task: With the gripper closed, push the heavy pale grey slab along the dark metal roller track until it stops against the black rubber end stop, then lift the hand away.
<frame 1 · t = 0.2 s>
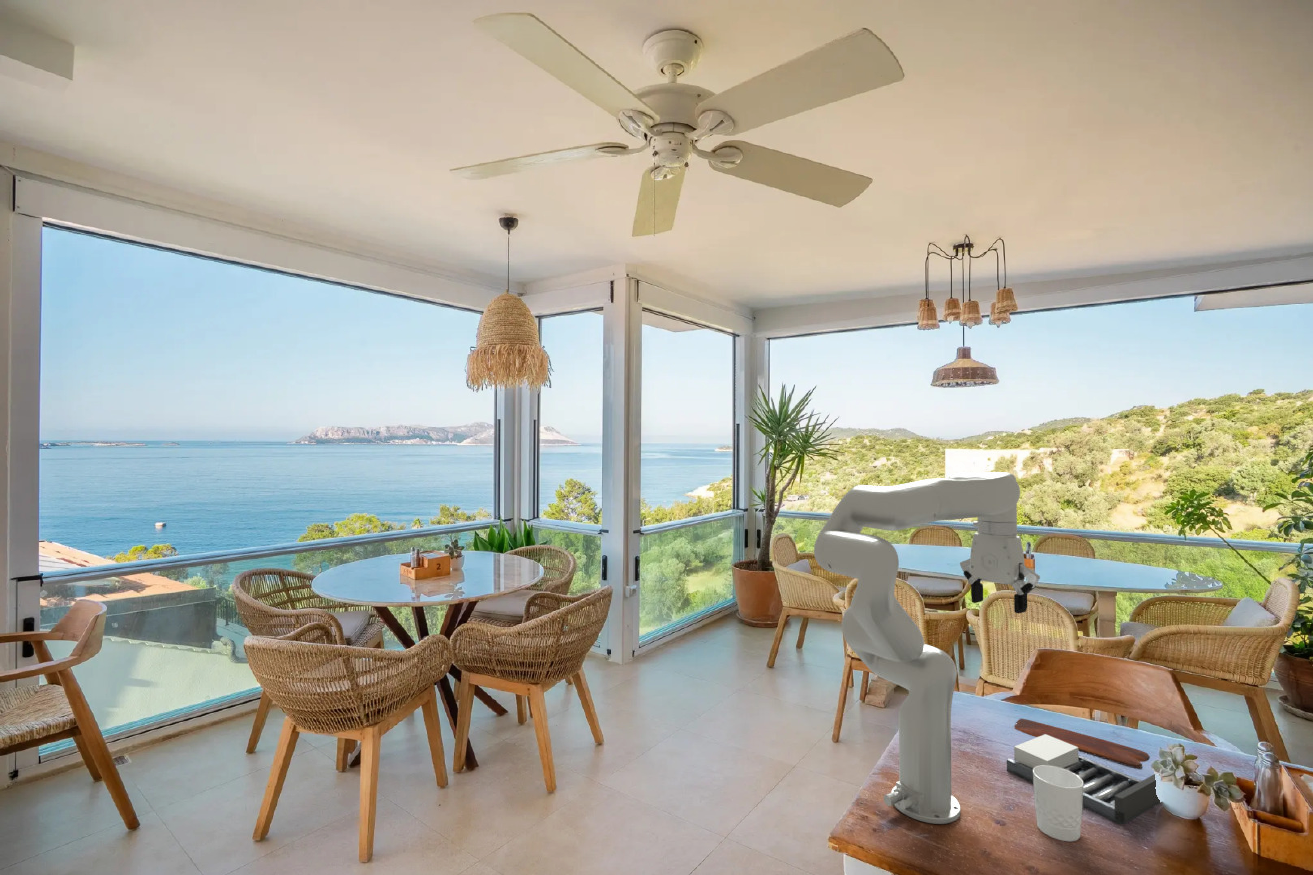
hand: (998, 606, 133), 36 cm above the table, tool pointing down, fingers open, 9 cm apart
white cup: (1058, 831, 113), on the table
roller track: (1081, 785, 128), on the table
wooden tablet: (1076, 744, 147), on the table
slab: (1046, 753, 134), point 3 cm above the table, slide at 0.0 cm
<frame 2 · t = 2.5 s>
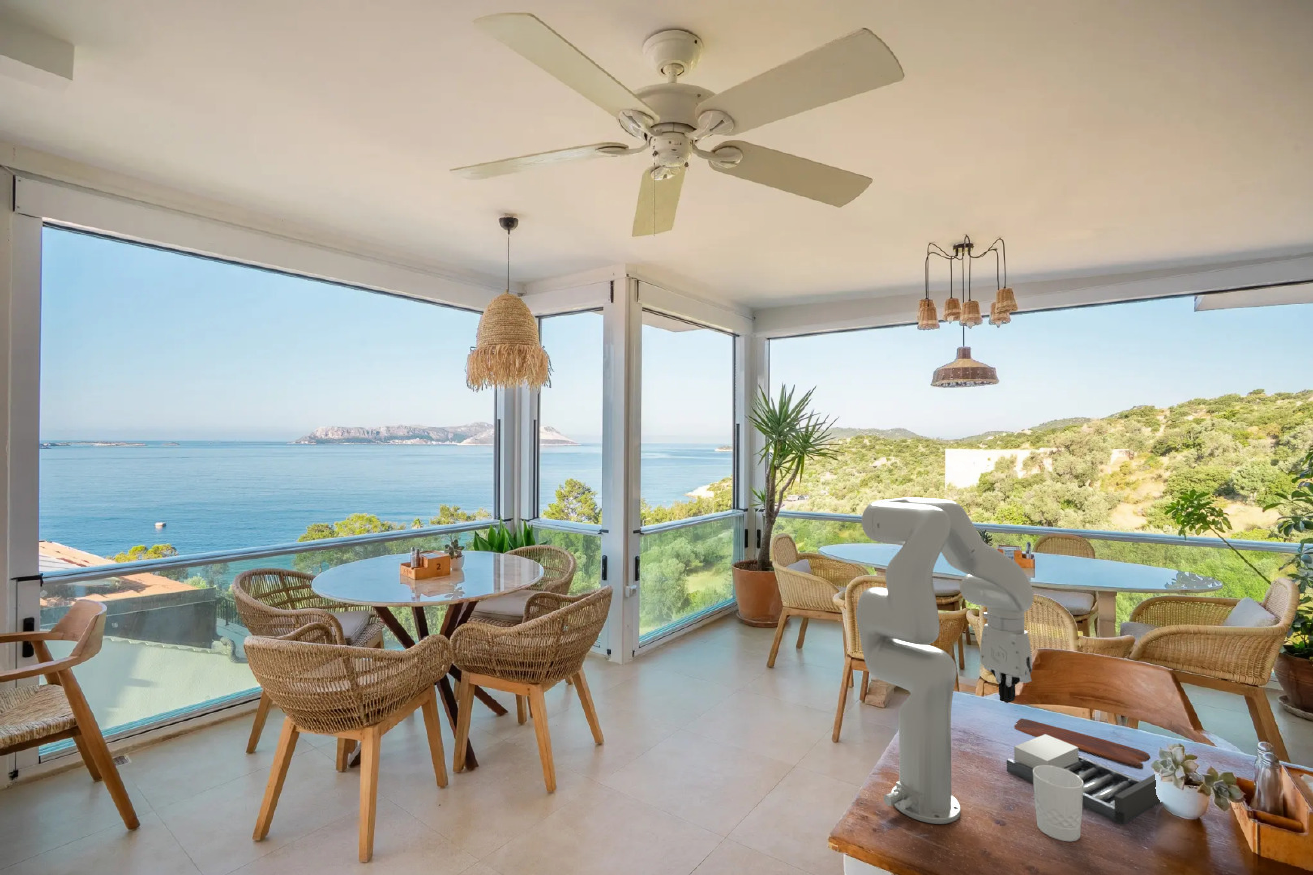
hand: (1007, 700, 142), 12 cm above the table, tool pointing down, fingers closed
nothing on the table moved.
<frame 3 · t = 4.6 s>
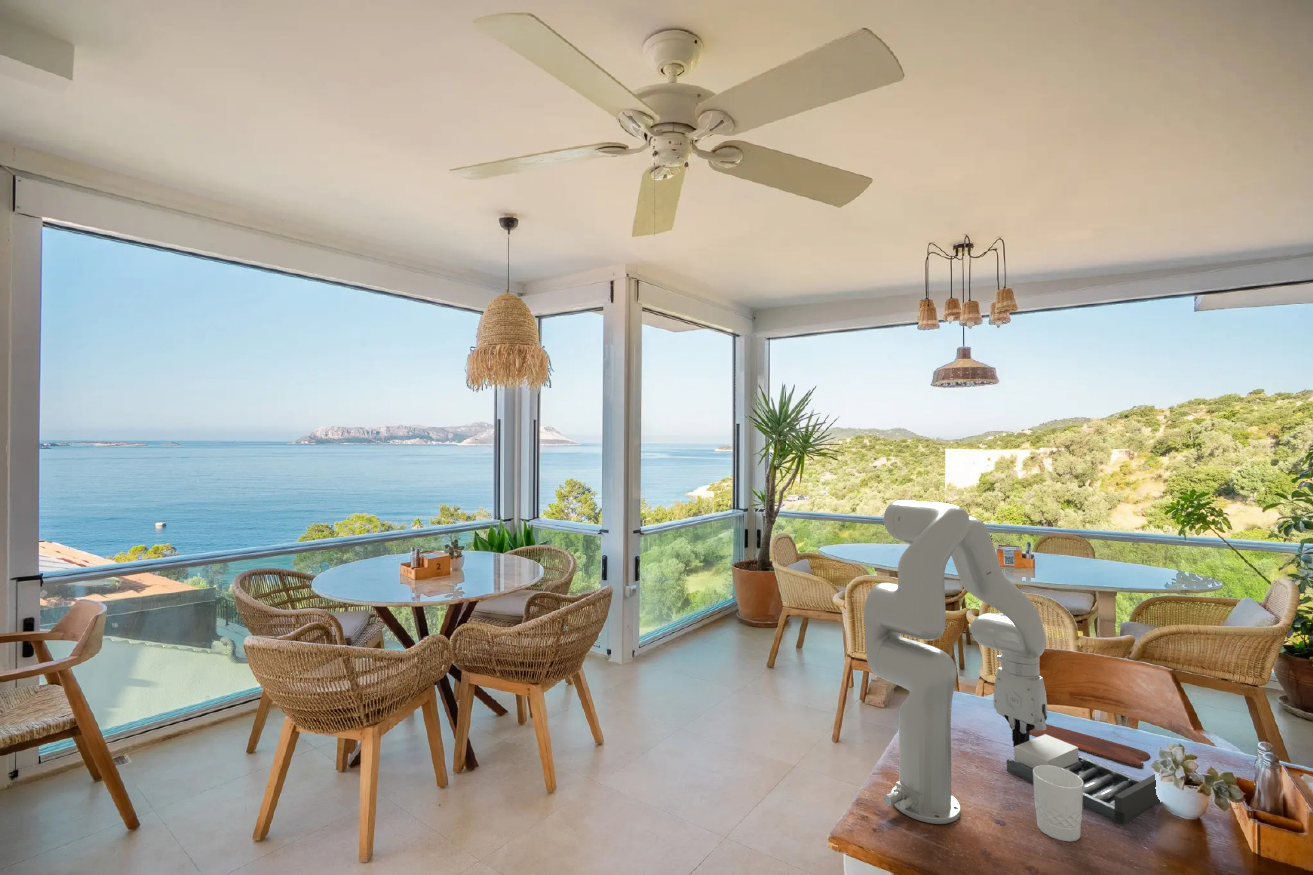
hand: (1020, 747, 139), 2 cm above the table, tool pointing down, fingers closed
slab: (1046, 753, 134), point 3 cm above the table, slide at 0.0 cm, touching gripper
everything else where it was.
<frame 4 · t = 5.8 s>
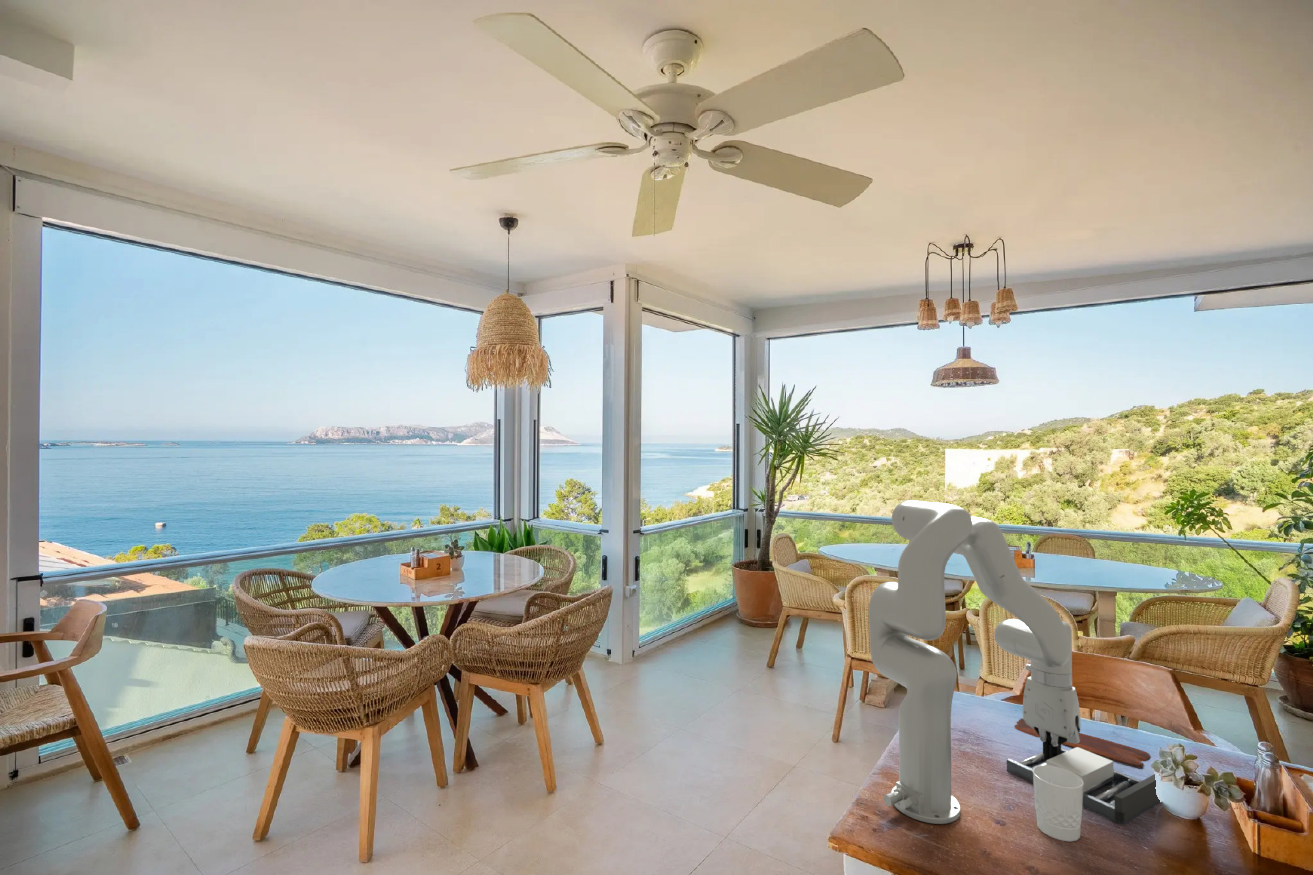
hand: (1052, 760, 133), 2 cm above the table, tool pointing down, fingers closed
slab: (1079, 767, 128), point 3 cm above the table, slide at 6.8 cm, touching gripper
everything else where it was.
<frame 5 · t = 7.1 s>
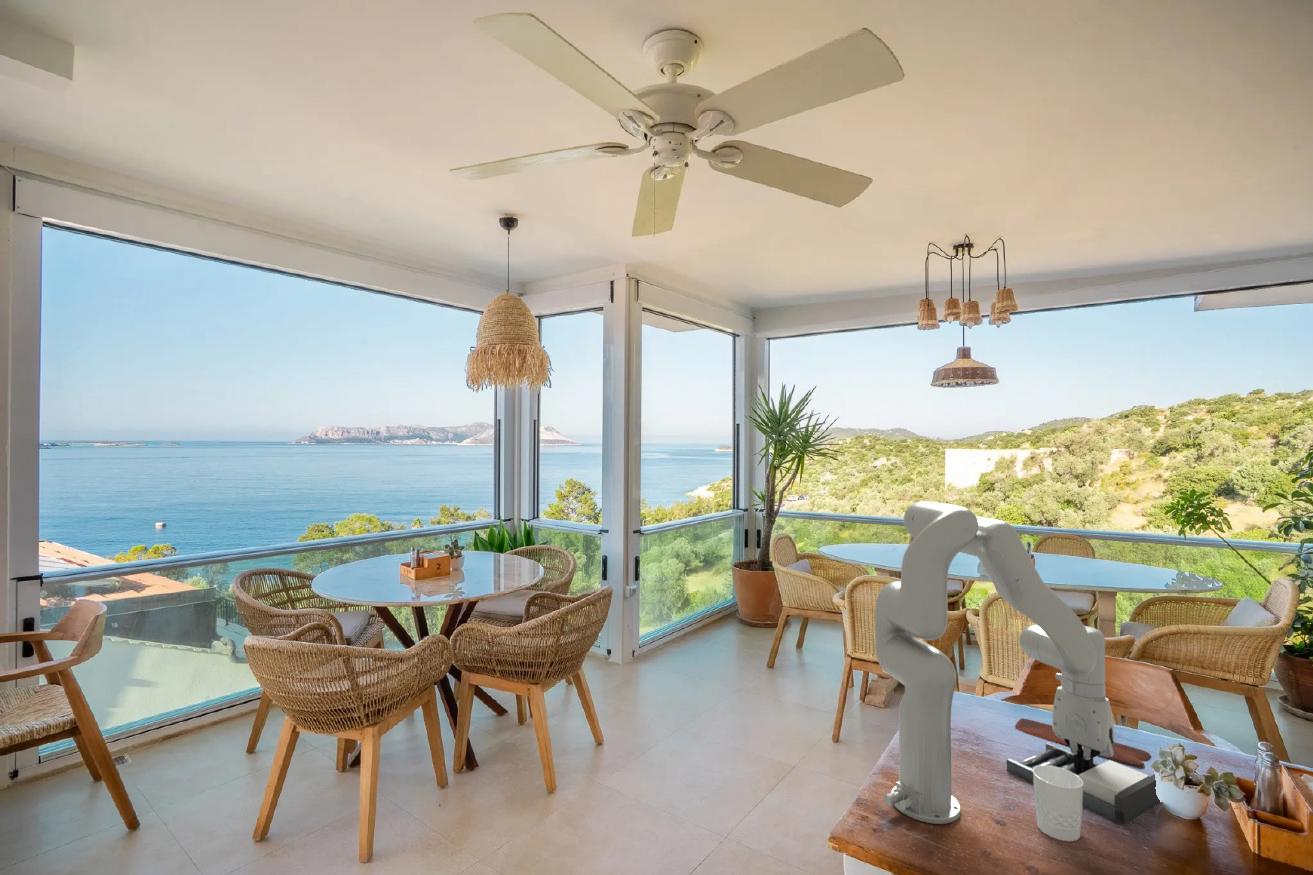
hand: (1083, 774, 127), 2 cm above the table, tool pointing down, fingers closed
slab: (1113, 782, 122), point 4 cm above the table, slide at 13.1 cm, touching gripper
everything else where it was.
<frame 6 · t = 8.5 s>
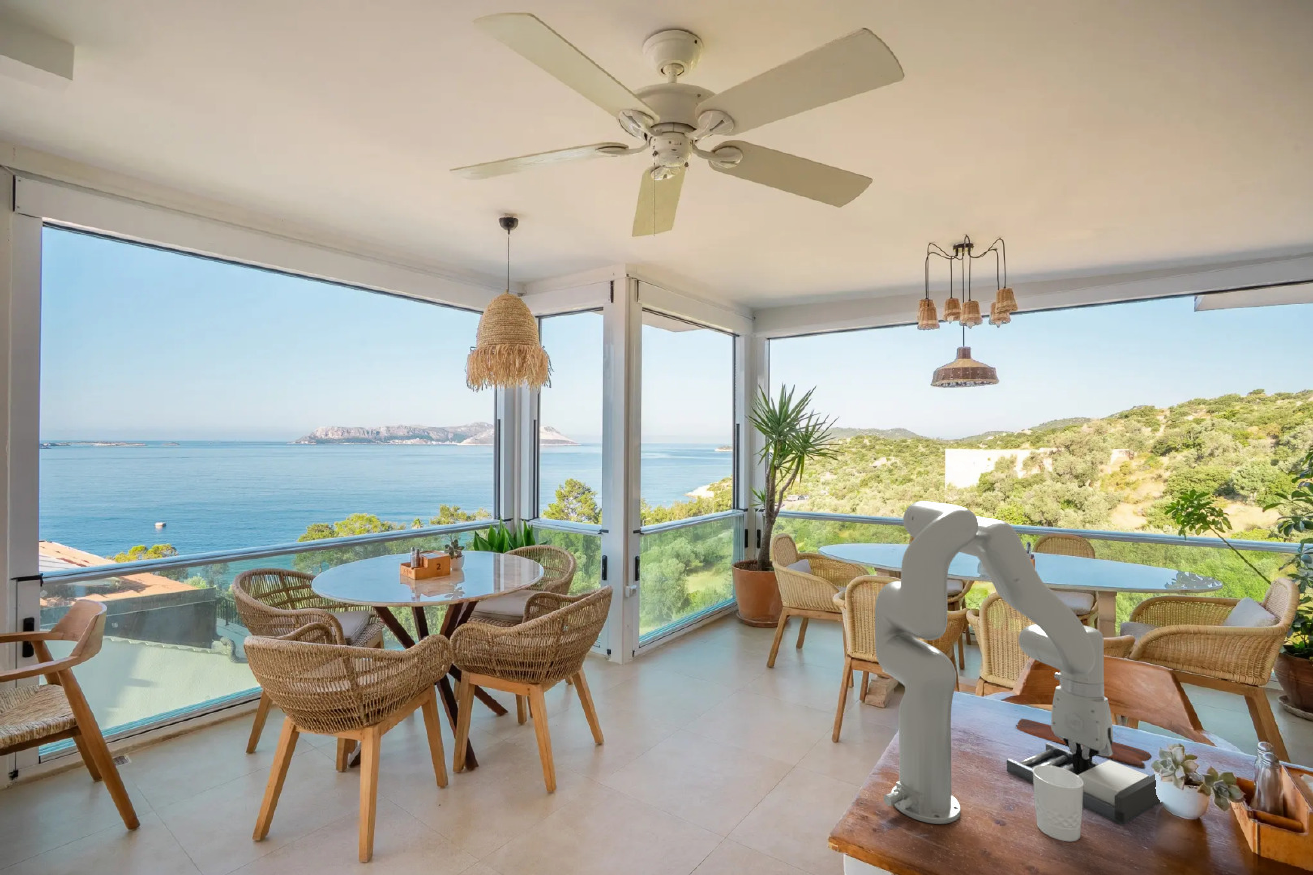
hand: (1082, 773, 128), 2 cm above the table, tool pointing down, fingers closed
slab: (1113, 782, 123), point 4 cm above the table, slide at 13.0 cm
everything else where it was.
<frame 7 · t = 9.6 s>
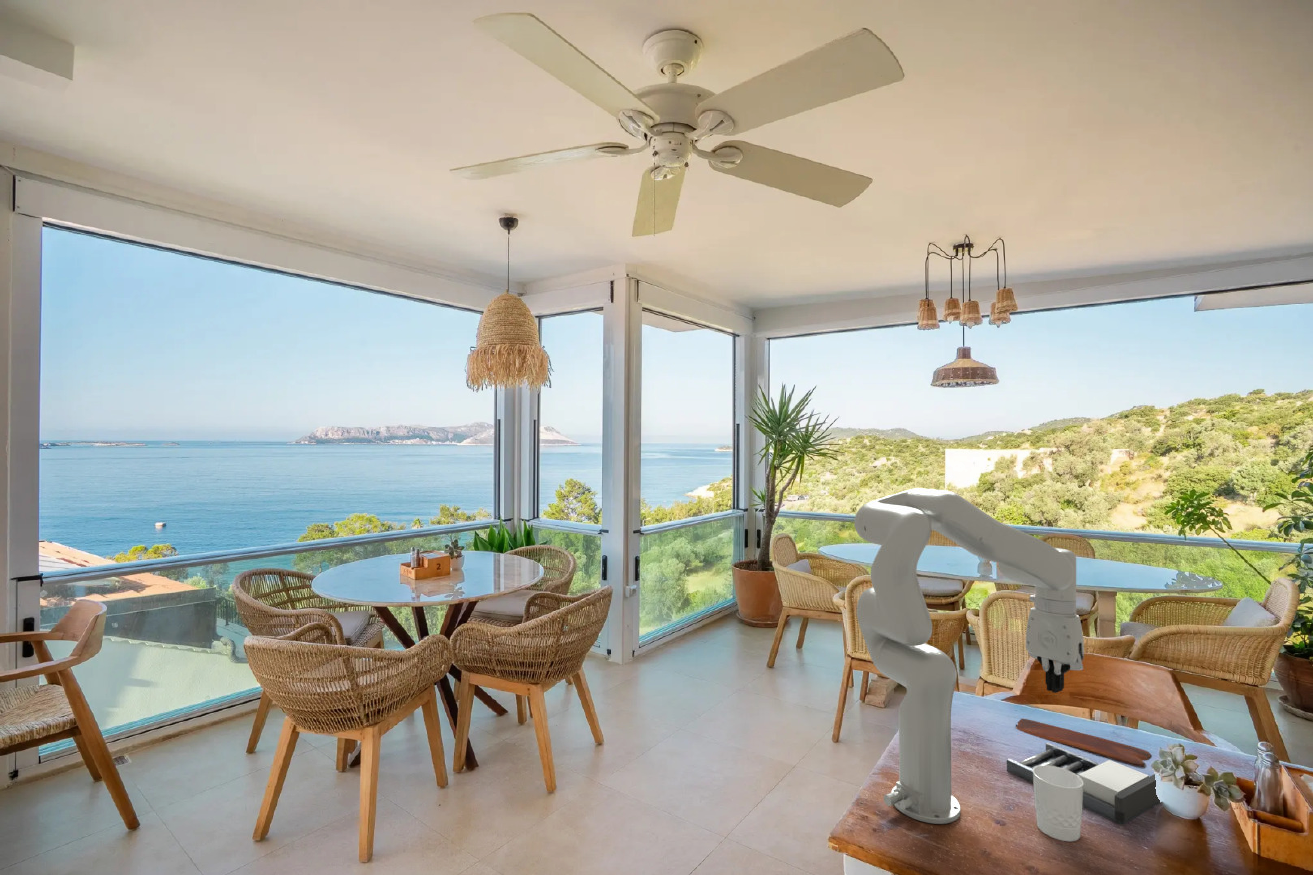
hand: (1054, 690, 132), 18 cm above the table, tool pointing down, fingers closed
nothing on the table moved.
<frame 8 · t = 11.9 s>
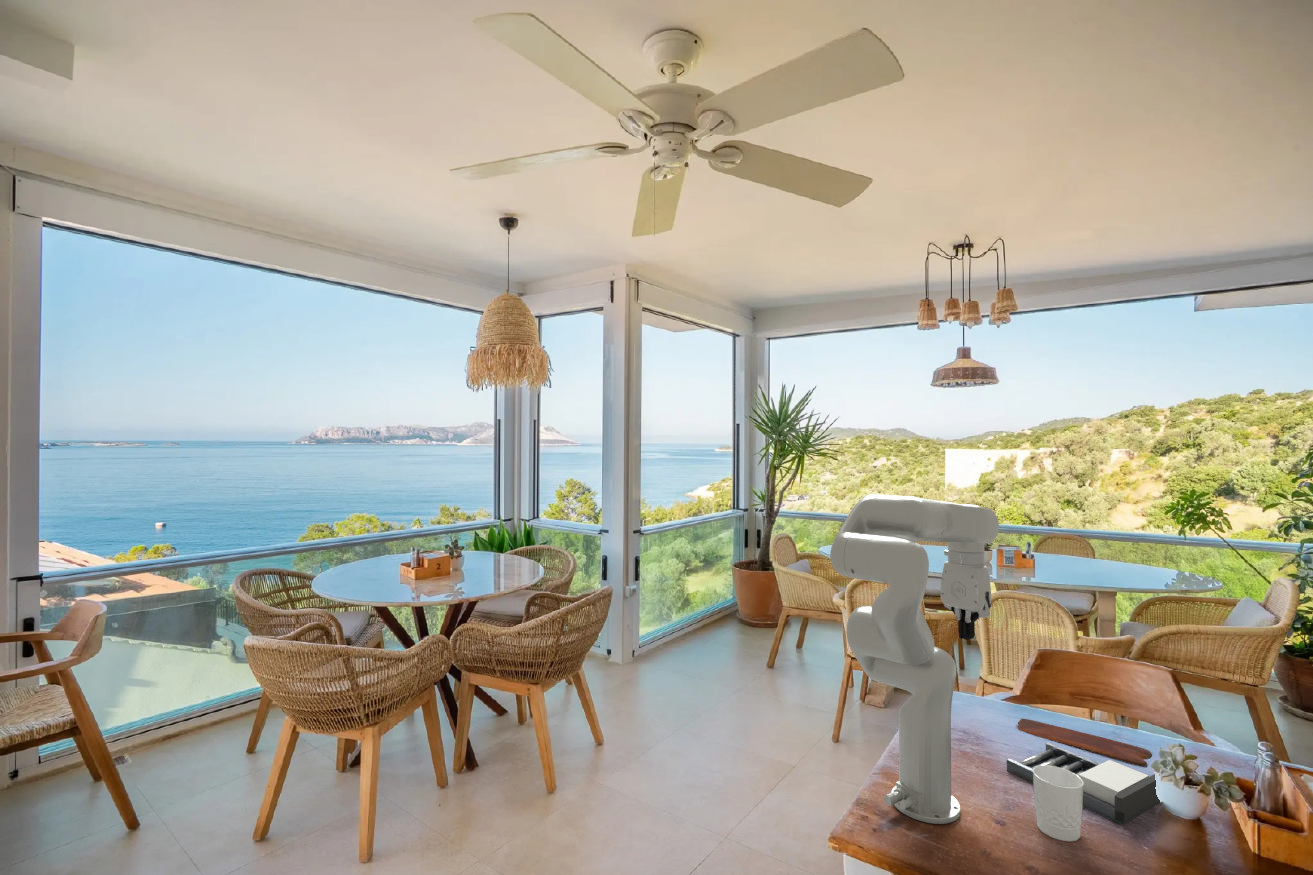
hand: (966, 637, 140), 27 cm above the table, tool pointing down, fingers closed
at the end: slab slide at 13.0 cm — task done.
